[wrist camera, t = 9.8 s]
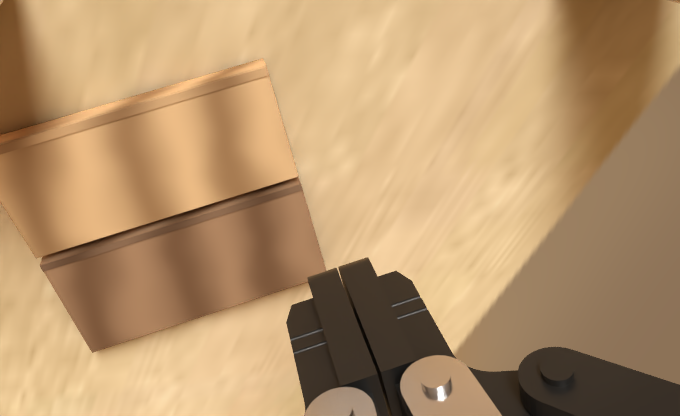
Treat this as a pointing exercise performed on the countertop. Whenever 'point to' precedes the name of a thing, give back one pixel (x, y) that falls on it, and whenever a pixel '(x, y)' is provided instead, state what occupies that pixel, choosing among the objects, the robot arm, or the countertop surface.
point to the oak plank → (144, 158)
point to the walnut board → (187, 265)
